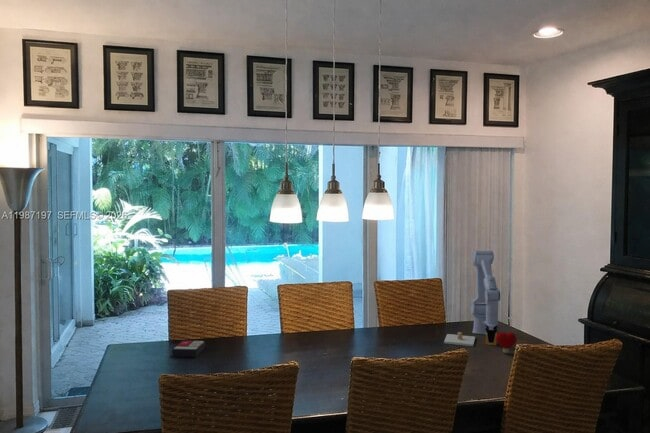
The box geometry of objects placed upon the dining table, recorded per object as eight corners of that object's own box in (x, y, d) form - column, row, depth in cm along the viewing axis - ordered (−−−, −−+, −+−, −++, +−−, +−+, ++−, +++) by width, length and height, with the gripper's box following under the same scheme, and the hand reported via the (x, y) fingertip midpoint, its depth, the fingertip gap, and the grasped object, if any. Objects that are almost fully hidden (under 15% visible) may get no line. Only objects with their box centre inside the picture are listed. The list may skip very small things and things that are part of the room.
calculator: (205, 340, 254) (196, 348, 239) (205, 349, 254) (196, 357, 239) (182, 339, 255) (172, 347, 240) (182, 348, 255) (172, 357, 240)
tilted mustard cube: (486, 341, 267) (486, 331, 267) (496, 342, 266) (496, 332, 266) (485, 344, 263) (485, 334, 262) (496, 345, 261) (496, 335, 261)
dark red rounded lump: (514, 351, 252) (514, 330, 251) (518, 356, 245) (518, 334, 244) (493, 350, 253) (494, 330, 252) (497, 355, 246) (497, 334, 245)
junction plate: (447, 335, 277) (447, 327, 277) (475, 338, 273) (475, 330, 272) (444, 343, 264) (444, 335, 264) (473, 346, 259) (473, 337, 259)
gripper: (484, 309, 272) (483, 336, 272) (482, 316, 258) (482, 343, 259) (498, 310, 269) (497, 337, 270) (498, 317, 256) (497, 345, 256)
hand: (491, 340), depth 264 cm, fingers closed on tilted mustard cube, 5 cm apart
